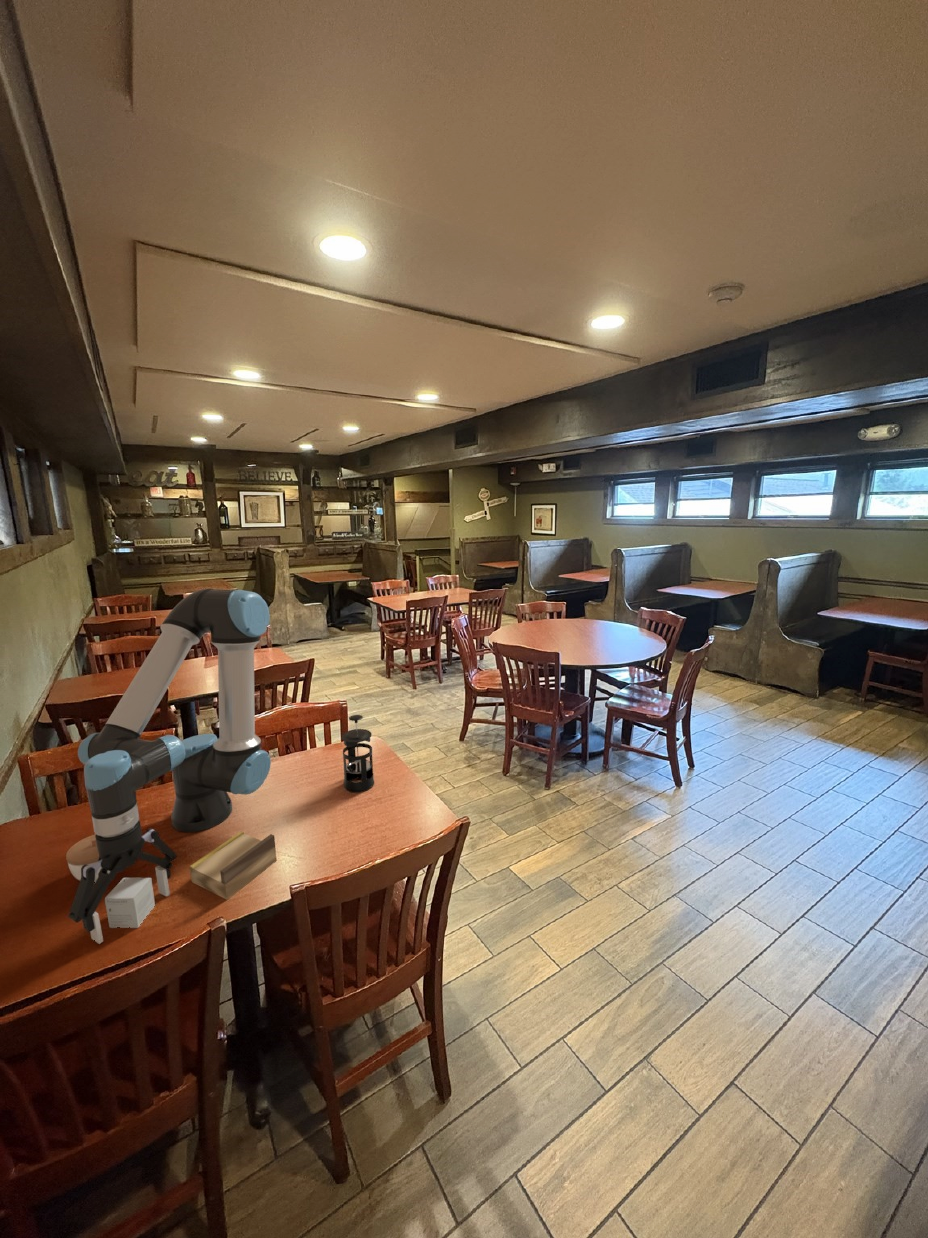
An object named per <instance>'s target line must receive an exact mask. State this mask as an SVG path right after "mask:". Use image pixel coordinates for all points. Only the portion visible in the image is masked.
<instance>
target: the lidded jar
mask: <svg viewBox="0 0 928 1238" xmlns="http://www.w3.org/2000/svg"><path fill="white" fill-rule="evenodd" d="M95 835H96V834H95V833H94V834H91V835H89V836H87V837H85V838H82V839H80V840H78V842H75V844H73V845H72V846H71V847H70V848H69V849H68V850H67V852H66V855H65V859H66V861H67V862H66V863H67V864H68V868H69V872H70V873H71V875H72V876H73V877H74V878H75V879H76V880H78V881H80V880H81V868H82V866H83V865H85V864H87V865H91V864H93V863H95V862H98V859H99V853H98V849H97V843H96V838H95ZM101 868H102V867H101ZM101 868H99V869H98V871H97V873H98V874H99V872H100V870H101ZM107 873H108V874H109V873H110V871H107ZM98 874H97V875H96V876H95V881H94V882H96V881H97V879H98Z"/></svg>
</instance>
